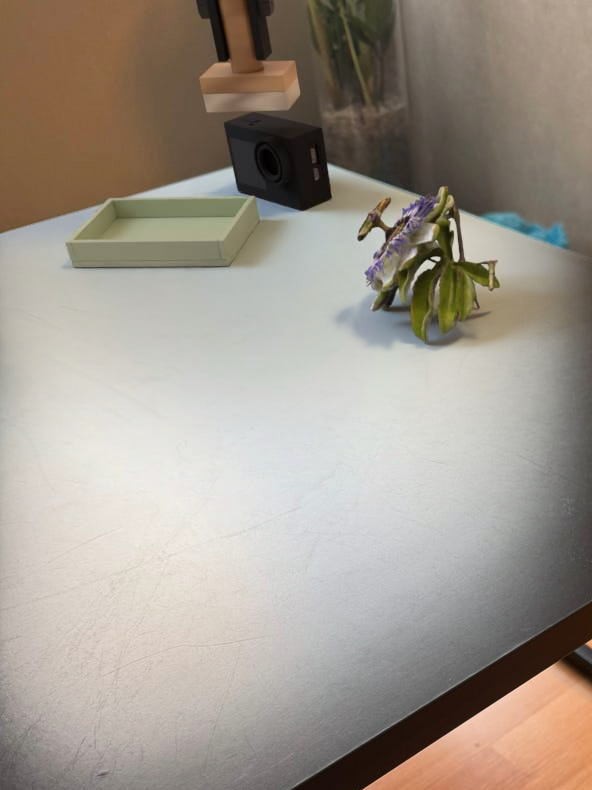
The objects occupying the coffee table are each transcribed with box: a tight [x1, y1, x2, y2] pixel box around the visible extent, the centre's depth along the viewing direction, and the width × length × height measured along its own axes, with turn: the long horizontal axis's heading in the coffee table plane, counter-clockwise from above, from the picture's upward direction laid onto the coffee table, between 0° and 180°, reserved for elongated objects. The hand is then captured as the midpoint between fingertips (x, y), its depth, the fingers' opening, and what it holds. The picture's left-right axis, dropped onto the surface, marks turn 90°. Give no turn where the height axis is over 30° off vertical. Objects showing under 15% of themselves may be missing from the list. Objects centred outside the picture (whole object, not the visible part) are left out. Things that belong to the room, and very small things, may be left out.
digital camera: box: [223, 111, 333, 211], centre depth 104 cm, size 10×5×7 cm, turn 50°
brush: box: [198, 0, 301, 113], centre depth 93 cm, size 8×5×12 cm, turn 84°
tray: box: [64, 195, 261, 268], centre depth 97 cm, size 15×11×2 cm
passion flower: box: [356, 185, 501, 345], centre depth 82 cm, size 11×11×12 cm
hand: (245, 56), depth 94 cm, fingers closed on brush, 3 cm apart
